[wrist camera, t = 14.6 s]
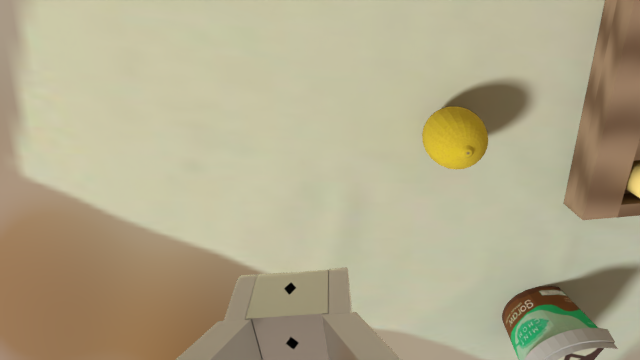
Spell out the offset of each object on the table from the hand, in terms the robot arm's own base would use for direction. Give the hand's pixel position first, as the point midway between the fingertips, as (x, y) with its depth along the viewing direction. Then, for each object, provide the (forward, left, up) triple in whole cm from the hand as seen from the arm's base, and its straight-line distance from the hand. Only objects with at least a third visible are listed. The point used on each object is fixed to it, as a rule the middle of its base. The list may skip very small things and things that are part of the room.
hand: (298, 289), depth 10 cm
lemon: (+6, +12, -29) cm, 32 cm away
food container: (+33, +23, -29) cm, 50 cm away
